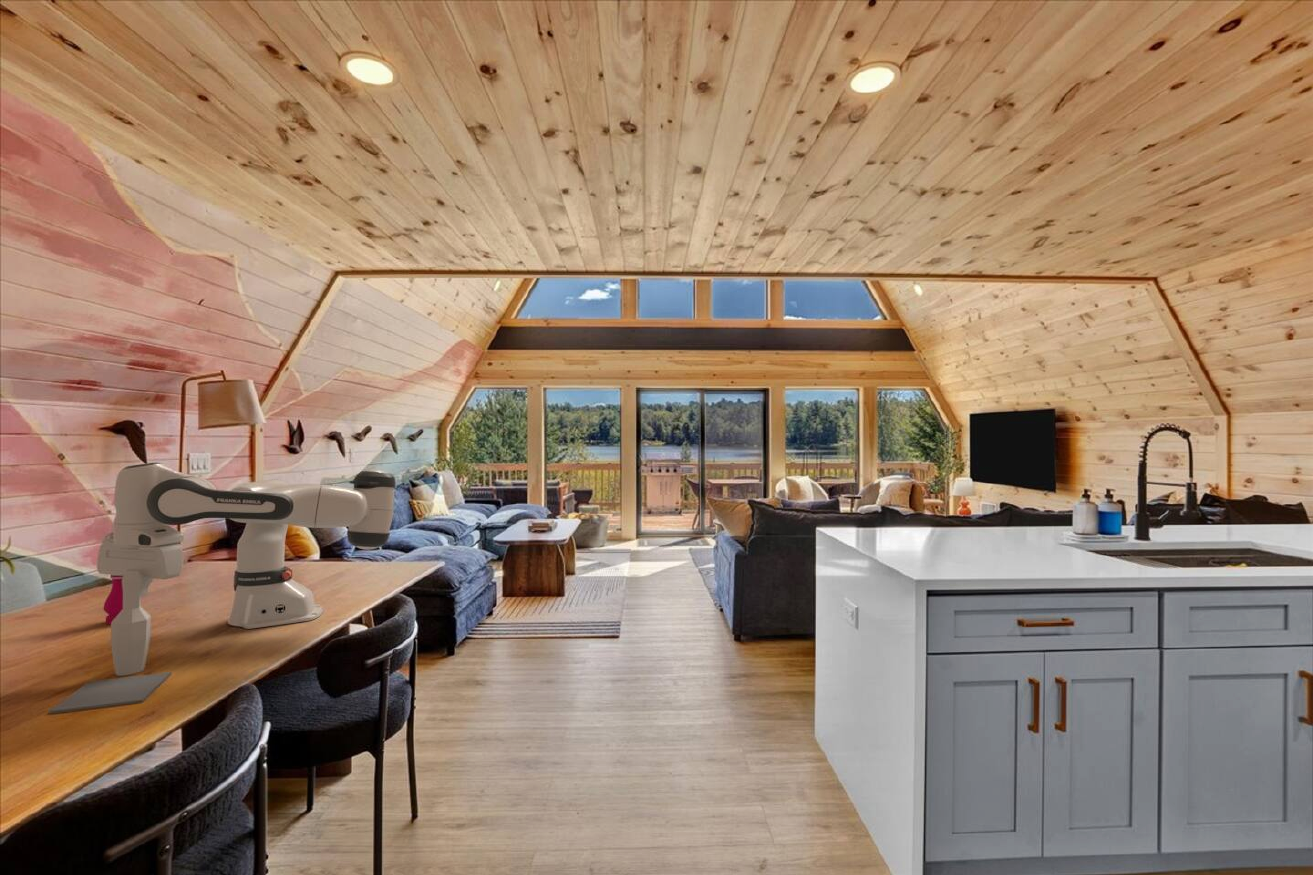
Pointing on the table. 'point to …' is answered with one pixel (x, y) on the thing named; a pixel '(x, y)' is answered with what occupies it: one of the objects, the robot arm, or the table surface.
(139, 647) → the low poly bottle
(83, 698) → the grey square plate
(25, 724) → the table surface
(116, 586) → the pepper mill
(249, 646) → the table surface
